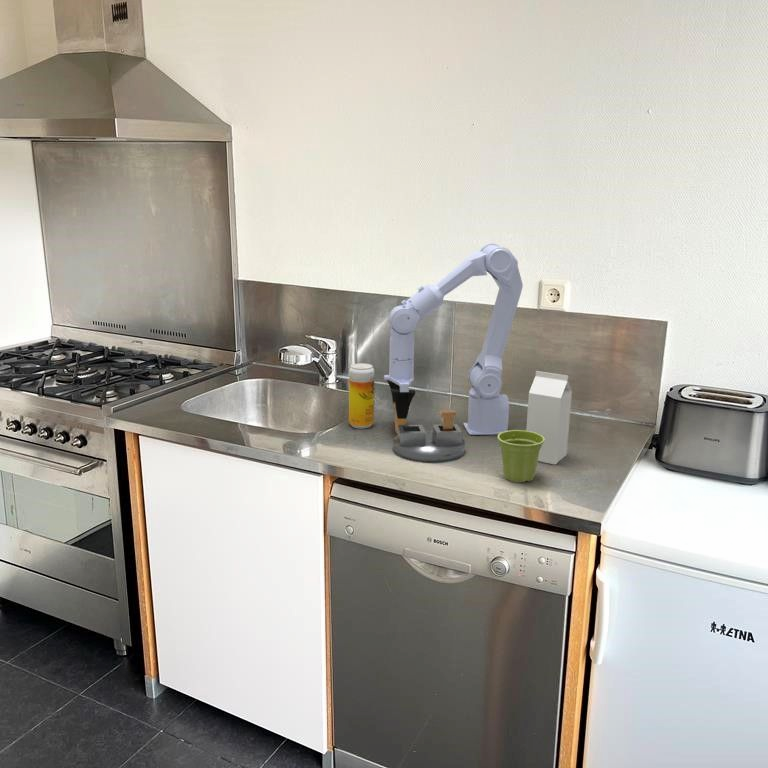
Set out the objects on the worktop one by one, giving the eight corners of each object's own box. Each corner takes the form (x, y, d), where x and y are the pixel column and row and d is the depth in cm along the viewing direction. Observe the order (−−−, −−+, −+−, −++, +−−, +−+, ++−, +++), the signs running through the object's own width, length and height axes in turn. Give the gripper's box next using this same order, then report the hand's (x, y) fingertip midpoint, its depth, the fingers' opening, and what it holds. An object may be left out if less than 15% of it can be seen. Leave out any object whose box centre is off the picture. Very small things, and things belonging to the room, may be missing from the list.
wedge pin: (406, 429, 184) (406, 402, 182) (407, 432, 182) (408, 404, 180) (393, 430, 184) (393, 402, 182) (394, 433, 182) (394, 404, 180)
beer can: (370, 430, 183) (371, 369, 179) (346, 428, 185) (346, 368, 181) (376, 422, 189) (376, 363, 185) (352, 420, 190) (352, 362, 186)
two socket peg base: (457, 437, 179) (459, 400, 177) (471, 462, 164) (472, 422, 161) (389, 438, 178) (390, 401, 175) (396, 463, 162) (397, 423, 160)
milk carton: (555, 465, 163) (562, 379, 158) (524, 458, 166) (529, 374, 161) (566, 455, 168) (573, 372, 163) (536, 449, 172) (541, 367, 167)
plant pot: (489, 481, 154) (491, 440, 151) (502, 466, 162) (504, 427, 160) (535, 489, 150) (538, 447, 148) (546, 473, 158) (549, 433, 156)
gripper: (381, 350, 185) (380, 404, 188) (387, 365, 171) (386, 422, 174) (410, 350, 185) (409, 404, 189) (418, 365, 171) (416, 422, 175)
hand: (400, 413), depth 182 cm, fingers open, 7 cm apart
